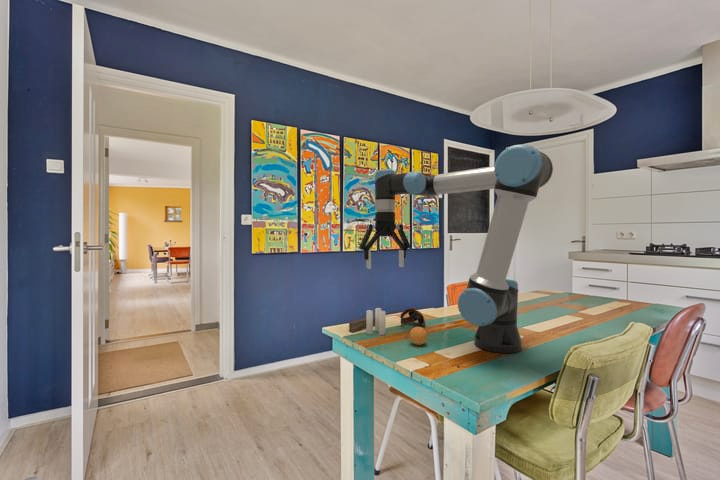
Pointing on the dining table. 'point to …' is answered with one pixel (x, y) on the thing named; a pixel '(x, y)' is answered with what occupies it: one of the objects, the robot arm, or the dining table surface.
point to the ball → (418, 335)
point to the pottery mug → (412, 317)
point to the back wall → (359, 325)
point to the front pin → (382, 322)
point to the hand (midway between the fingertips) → (385, 267)
